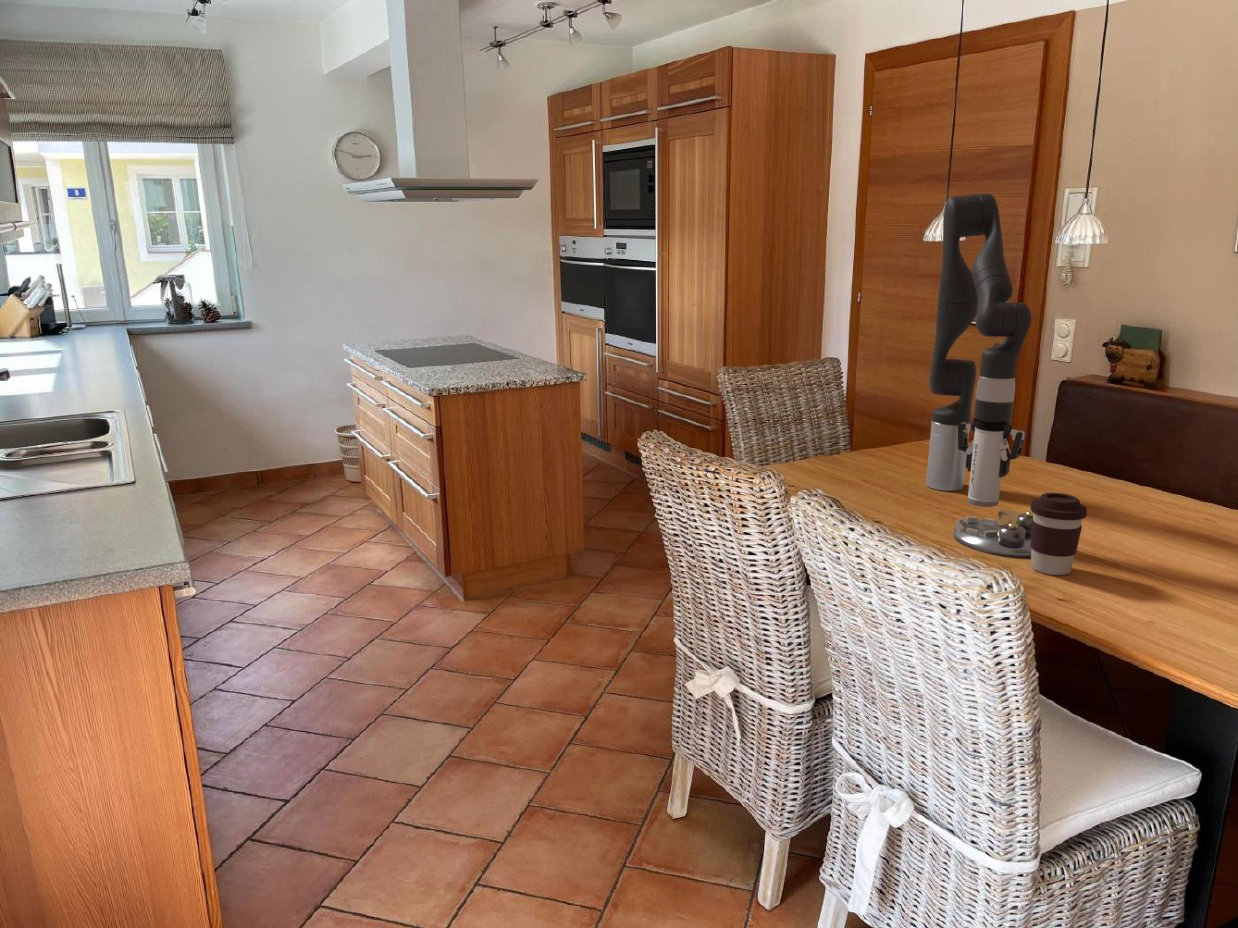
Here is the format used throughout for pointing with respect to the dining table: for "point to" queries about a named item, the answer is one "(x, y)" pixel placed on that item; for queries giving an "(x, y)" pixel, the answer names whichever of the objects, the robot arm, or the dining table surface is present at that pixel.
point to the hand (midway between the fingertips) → (986, 473)
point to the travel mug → (986, 464)
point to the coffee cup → (1055, 532)
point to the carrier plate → (990, 541)
